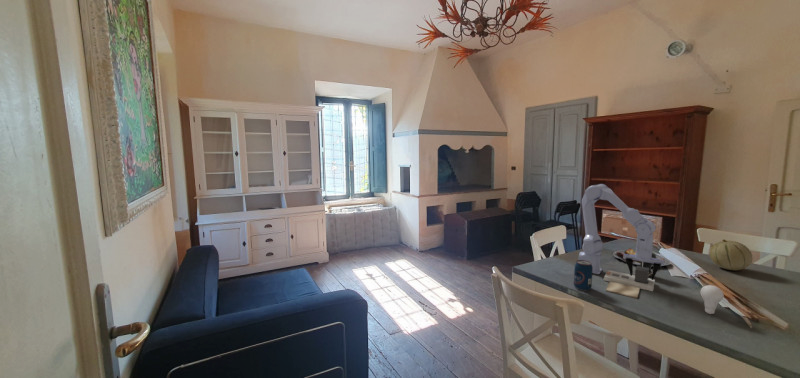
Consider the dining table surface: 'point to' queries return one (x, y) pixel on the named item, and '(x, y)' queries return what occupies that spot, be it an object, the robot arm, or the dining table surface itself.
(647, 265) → the battery charger
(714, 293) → the lightbulb
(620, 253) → the food plate
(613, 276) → the white slotted block
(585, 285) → the soda can
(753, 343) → the dining table surface
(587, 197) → the robot arm
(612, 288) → the pad
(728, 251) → the cantaloupe
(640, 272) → the block
